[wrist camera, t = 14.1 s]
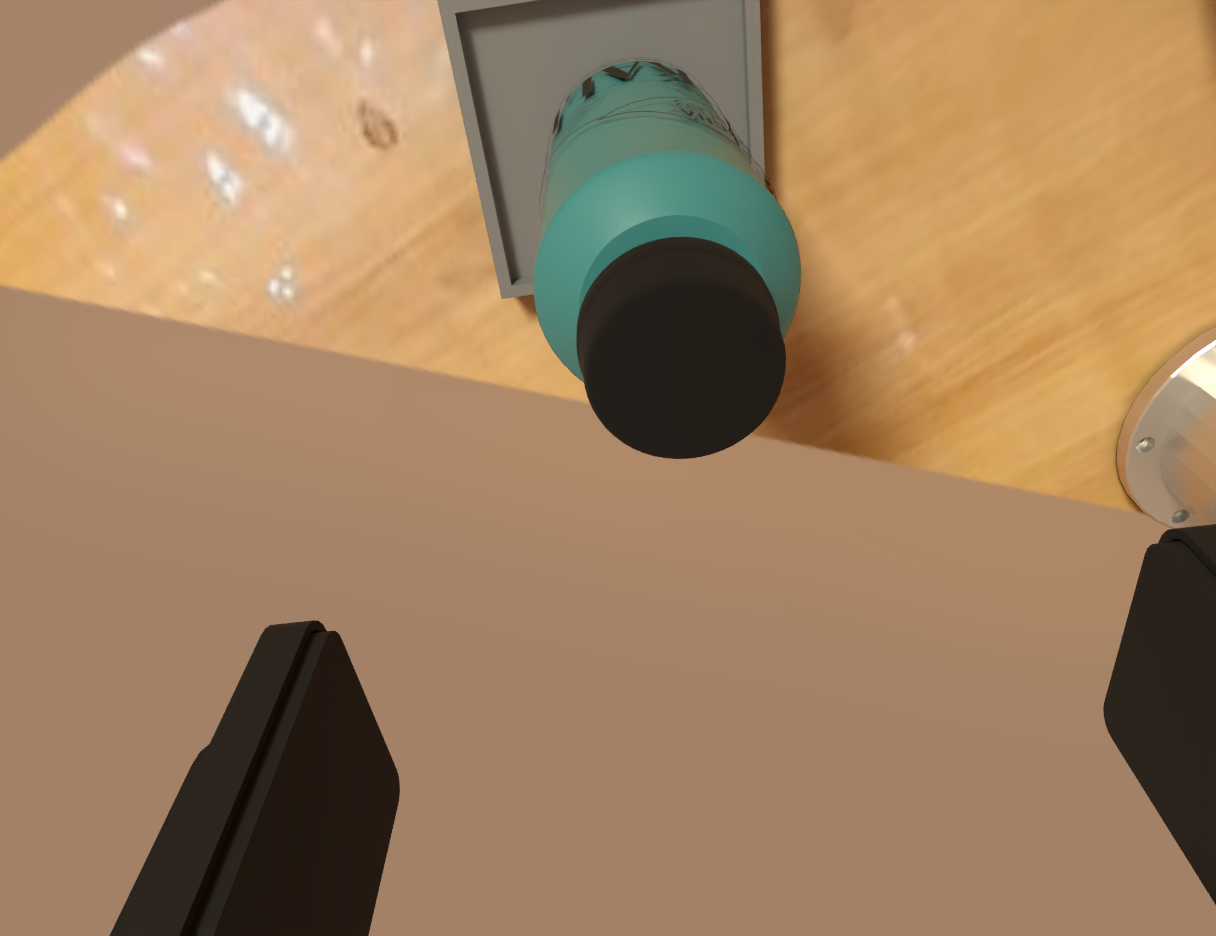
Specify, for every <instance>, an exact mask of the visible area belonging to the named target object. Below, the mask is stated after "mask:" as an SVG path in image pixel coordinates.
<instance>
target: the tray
mask: <svg viewBox="0 0 1216 936" xmlns="http://www.w3.org/2000/svg"><path fill="white" fill-rule="evenodd" d="M437 1H438V5H439V10H440V15H441V19H442V24H443V28H444V33H445V38H446V42H447V47H448V52H449V56H450V61H451V66H452V70H453V75H454V79H455V84H456V89H457V93H458V98H459V103H460V107H461V112H462V117H463V121H464V126H465V130H466V135H467V140H468V144H469V149H470V154H471V158H472V163H473V167H474V172H475V177H476V181H477V186H478V191H479V195H480V200H481V205H482V209H483V214H484V218H485V223H486V228H487V232H488V237H489V242H490V246H491V251H492V256H493V260H494V265H495V269H496V274H497V279H498V283H499V288H500V293H501V297H502V299H505V298H512V297H519V296H527V295H533V272H534V265H535V257H536V254H537V250H538V246H539V243H540V240H541V232H542V224H543V221H542V220H543V215H544V208H543V207H545V206H544V196H545V186H546V180H545V179H547V173H548V171H547V170H548V167H549V165H548V164H549V162H548V161H550V155H551V150H550V149H551V148H552V144H551V143H552V142H553V140H552V139H553V136H554V133H553V127H554V123H553V122H554V121H555V117H556V116H555V115H557V114H558V112H559V110H560V113H561V111H562V109H563V108H564V106H565V104H566V100H567V98H568V96H569V95H570V94H571V93H572V92H573V91H575V90H576V89H577V88H578V87H579V85H580V84H581V83H583V82H584V81H585V80H586V79H588V78H589V77H591V76H592V75H594V74H595V73H597V72H599V71H601V70H603V69H605V68H607V67H609V66H612V65H616V64H619V63H625V62H631V61H648V62H657V63H661V64H662V65H666V66H668V67H671V66H672V67H671V68H673V67H674V68H673V69H675V68H677V67H679V68H677V69H679V70H681V71H683V70H684V71H683V72H684V73H686V75H687V74H688V73H689V74H688V75H687V76H688V78H689V79H690V80H691V81H693V82H694V83H695V84H696V85H697V86H698V88H699V89H700V90H701V91H702V92H703V94H704V95H705V96H706V98H707V99H708V100H709V102H712V103H713V105H714V107H713V108H714V109H715V111H716V112H718V113H717V114H718V116H719V117H720V119H721V120H723V121H724V122H725V123H724V122H723V121H722V122H723V123H724V125H725V126H726V128H727V129H728V130H729V126H727V125H728V124H727V122H726V120H727V119H728V120H727V121H729V123H730V127H731V129H732V130H733V131H734V132H733V133H734V135H735V137H736V138H737V139H738V140H741V141H740V142H742V143H743V144H741V143H740V142H739V141H738V140H737V141H738V143H739V146H740V149H741V148H742V149H743V148H744V149H743V150H744V151H745V152H746V153H747V154H748V155H747V154H745V152H744V151H743V150H742V149H741V150H742V152H743V153H744V155H745V156H746V158H747V159H748V161H749V162H750V164H751V165H752V167H753V168H754V170H755V171H756V173H757V172H758V171H759V172H760V173H759V172H758V173H757V174H758V175H759V177H761V176H762V177H761V180H762V182H763V183H764V186H765V182H764V181H765V178H764V177H765V173H764V172H765V165H764V131H763V97H762V63H761V28H760V0H437ZM632 57H642V58H632ZM644 57H647V58H644ZM625 58H627V59H625ZM654 58H656V59H654ZM619 59H621V60H619ZM634 59H638V60H634ZM639 59H645V60H639ZM646 59H647V60H646ZM649 59H650V60H649ZM659 59H660V60H659ZM616 60H617V61H616ZM624 60H625V61H624ZM626 60H627V61H626ZM653 60H657V61H653ZM663 60H664V61H663ZM613 61H614V62H613ZM619 61H620V62H619ZM621 61H622V62H621ZM659 61H662V62H659ZM609 62H610V63H609ZM616 62H617V63H616ZM669 62H670V63H669ZM613 63H615V64H613ZM609 64H610V65H609ZM611 64H612V65H611ZM674 64H675V65H674ZM602 65H603V66H602ZM606 65H607V66H606ZM600 66H601V67H600ZM675 66H676V67H675ZM598 67H599V68H598ZM603 67H604V68H603ZM680 67H681V68H680ZM596 68H597V69H599V70H598V71H597V69H596ZM600 68H601V69H600ZM593 70H594V71H596V72H594V71H593ZM675 70H676V69H675ZM685 70H686V72H685ZM588 73H589V74H588ZM591 73H592V74H591ZM588 75H589V76H588ZM689 75H690V76H689ZM692 75H693V76H692ZM587 76H588V77H587ZM583 77H584V78H585V77H586V78H585V79H584V78H583ZM693 77H694V78H693ZM583 79H584V80H583ZM698 81H699V82H698ZM577 82H578V83H577ZM579 82H581V83H579ZM576 83H577V84H576ZM701 84H702V85H701ZM699 85H700V86H699ZM575 86H576V87H575ZM703 86H704V87H703ZM574 87H575V88H574ZM702 87H703V88H702ZM573 88H574V89H573ZM701 88H702V89H703V90H706V92H707V93H708V94H709V95H710V96H711V97H712V98H711V97H710V96H709V95H708V94H707V93H705V91H703V90H702V89H701ZM568 92H569V93H570V94H569V93H568ZM568 94H569V95H568ZM572 94H573V93H572ZM572 94H571V95H572ZM567 95H568V96H567ZM571 95H570V97H571ZM565 96H566V97H567V98H566V97H565ZM570 97H569V98H570ZM565 98H566V99H565ZM569 98H568V99H569ZM563 99H565V100H563ZM710 100H711V101H710ZM713 100H714V101H715V102H716V103H717V104H716V103H715V102H714V101H713ZM563 101H564V102H563ZM561 102H563V103H561ZM712 103H711V105H712ZM560 104H562V105H560ZM717 105H718V106H717ZM561 106H562V107H561ZM560 108H561V109H560ZM716 108H718V109H719V108H720V109H719V110H718V109H716ZM558 109H559V110H558ZM720 110H721V111H722V112H721V111H720ZM557 111H558V112H557ZM719 111H720V112H721V113H723V115H725V116H723V115H722V114H721V113H720V112H719ZM560 113H559V116H560ZM721 115H722V117H721ZM724 117H725V118H726V120H725V118H724ZM553 119H554V120H553ZM551 125H552V126H551ZM551 127H552V128H551ZM732 127H733V128H734V129H735V130H734V129H733V128H732ZM551 132H552V133H553V135H552V133H551ZM730 132H731V130H730ZM735 133H736V134H737V135H736V134H735ZM549 137H550V138H549ZM551 137H552V138H551ZM732 137H733V138H734V136H732ZM738 137H739V138H738ZM734 140H735V139H734ZM551 141H552V142H551ZM549 142H550V143H549ZM744 144H745V145H746V146H745V145H744ZM549 146H550V147H549ZM742 146H743V147H742ZM744 146H745V147H747V148H748V149H747V148H745V147H744ZM748 150H749V151H750V152H749V151H748ZM547 151H548V152H547ZM549 151H550V152H549ZM547 153H548V155H547ZM749 153H751V154H749ZM545 155H546V156H545ZM751 155H752V156H751ZM547 156H548V157H547ZM751 157H752V158H751ZM753 158H754V159H753ZM546 159H547V161H546ZM754 160H755V161H754ZM753 162H754V163H753ZM547 163H548V164H547ZM755 163H756V164H757V165H756V164H755ZM758 164H759V165H760V167H761V168H760V167H759V165H758ZM545 165H546V167H545ZM756 169H757V170H756ZM758 169H759V170H758ZM761 169H762V170H763V171H761ZM544 170H545V173H546V175H545V173H543V172H544ZM762 172H763V173H764V174H763V173H762ZM543 176H544V179H543ZM762 178H763V179H764V180H763V179H762ZM542 182H543V185H542ZM540 183H541V184H540ZM541 188H542V191H541ZM539 191H540V192H539ZM540 194H541V197H540ZM539 200H540V203H539ZM539 205H540V207H539ZM540 212H541V213H540ZM541 216H542V218H541Z"/></svg>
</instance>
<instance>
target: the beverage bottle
mask: <svg viewBox="0 0 1216 936" xmlns="http://www.w3.org/2000/svg"><path fill="white" fill-rule="evenodd" d="M632 58H642V57H632ZM644 58H647V57H644ZM625 59H627V58H625ZM654 59H656V58H654ZM619 60H621V59H619ZM634 60H638V59H634ZM639 60H645V59H639ZM646 60H647V59H646ZM649 60H650V59H649ZM659 60H660V59H659ZM616 61H617V60H616ZM624 61H625V60H624ZM626 61H627V60H626ZM653 61H657V60H653ZM663 61H664V60H663ZM613 62H614V61H613ZM619 62H620V61H619ZM621 62H622V61H621ZM659 62H662V61H659ZM609 63H610V62H609ZM616 63H617V62H616ZM669 63H670V62H669ZM613 64H615V63H613ZM609 65H610V64H609ZM611 65H612V64H611ZM674 65H675V64H674ZM602 66H603V65H602ZM606 66H607V65H606ZM600 67H601V66H600ZM671 67H672V66H671ZM671 67H668V66H666V65H662V64H661V63H657V62H648V61H631V62H625V63H619V64H616V65H612V66H609V67H607V68H605V69H603V70H601V71H599V72H597V73H595V74H594V75H592V76H591V77H589V78H588V79H586V80H585V81H584V82H583V83H581V82H579V83H581V84H580V85H579V87H578V88H577V89H576V90H575V91H573V92H572V93H573V94H572V93H571V94H572V95H571V94H570V93H569V92H568V93H569V94H570V95H571V97H570V95H569V94H568V95H569V96H568V95H567V96H568V98H569V97H570V98H569V99H568V98H567V97H566V96H565V97H566V98H567V100H566V104H565V106H564V108H563V109H562V111H561V113H560V110H559V109H558V110H559V112H558V111H557V112H558V114H557V115H555V116H556V117H555V121H554V122H553V123H554V127H553V133H554V136H553V139H552V140H553V142H552V141H551V142H552V143H551V144H552V148H551V149H550V150H551V155H550V161H548V162H549V164H548V163H547V164H548V165H549V167H548V170H547V171H548V173H547V179H545V180H546V186H545V196H544V206H545V207H543V208H544V215H543V220H542V221H543V224H542V232H541V240H540V243H539V246H538V250H537V254H536V257H535V265H534V272H533V295H534V302H535V309H536V313H537V317H538V320H539V324H540V326H541V329H542V331H543V333H544V336H545V338H546V340H547V341H548V343H549V345H550V346H551V348H552V350H553V351H554V353H555V354H556V355H557V357H558V358H559V359H560V360H561V362H562V363H563V364H564V365H565V366H566V367H567V368H568V369H569V370H570V371H571V372H572V373H573V374H574V375H575V376H576V377H577V378H579V379H580V380H581V381H583V382H584V384H585V389H586V393H587V397H588V399H589V402H590V404H591V406H592V408H593V410H594V412H595V413H596V415H597V417H598V418H599V420H600V421H601V422H602V424H603V425H604V426H605V427H606V429H607V430H609V431H610V432H611V433H612V434H613V435H614V436H615V437H616V438H618V439H619V440H620V441H622V442H623V443H625V444H626V445H628V446H630V447H631V448H633V449H636V450H638V451H640V452H643V453H646V454H649V455H652V456H657V457H663V458H672V459H685V458H686V459H688V458H696V457H702V456H706V455H710V454H713V453H716V452H719V451H722V450H724V449H726V448H728V447H730V446H732V445H734V444H736V443H737V442H739V441H741V440H742V439H744V438H745V437H746V436H748V435H749V434H750V433H752V432H753V431H754V430H755V429H756V428H757V427H758V426H759V425H760V424H761V423H762V422H763V421H764V419H765V418H766V417H767V416H768V414H769V413H770V411H771V410H772V408H773V406H774V405H775V403H776V401H777V398H778V396H779V394H780V391H781V388H782V385H783V380H784V375H785V368H786V353H785V345H784V341H783V338H784V337H785V335H786V333H787V331H788V328H789V326H790V324H791V322H792V319H793V316H794V313H795V310H796V306H797V302H798V297H799V292H800V281H801V264H800V255H799V249H798V244H797V240H796V237H795V235H794V232H793V229H792V226H791V224H790V222H789V220H788V218H787V216H786V214H785V212H784V211H783V209H782V208H781V206H780V205H779V203H778V202H777V200H776V199H775V198H774V196H773V193H772V190H771V191H770V192H771V193H770V192H769V191H768V189H767V188H766V187H765V186H764V183H763V182H762V180H761V177H762V176H761V177H759V175H758V174H757V173H758V172H759V171H758V172H757V173H756V171H755V170H754V168H753V167H752V165H751V164H750V162H749V161H748V159H747V158H746V156H745V155H744V153H743V152H742V150H743V149H744V148H743V149H742V148H741V149H742V150H741V149H740V146H739V143H738V141H739V142H740V141H741V140H738V139H737V138H736V137H735V135H734V133H733V132H734V131H733V130H732V129H731V127H730V123H729V121H727V120H728V119H727V120H726V118H725V117H724V118H725V120H726V122H727V124H728V125H727V126H729V130H728V129H727V128H726V126H725V125H724V123H725V122H724V121H723V120H721V119H720V117H719V116H718V114H717V113H718V112H716V111H715V109H714V108H713V107H714V105H713V103H712V102H709V100H708V99H707V98H706V96H705V95H704V94H703V92H702V91H701V90H700V89H699V88H698V86H697V85H696V84H695V83H694V82H693V81H691V80H690V79H689V78H688V76H687V75H688V74H689V73H688V74H687V75H686V73H684V72H683V71H684V70H683V71H681V70H679V69H677V68H679V67H677V68H675V69H676V70H675V69H673V68H674V67H673V68H671ZM675 67H676V66H675ZM598 68H599V67H598ZM603 68H604V67H603ZM680 68H681V67H680ZM596 69H597V68H596ZM600 69H601V68H600ZM598 70H599V69H597V71H598ZM593 71H594V70H593ZM594 72H596V71H594ZM685 72H686V70H685ZM588 74H589V73H588ZM591 74H592V73H591ZM588 76H589V75H588ZM588 76H587V77H588ZM689 76H690V75H689ZM692 76H693V75H692ZM583 78H584V77H583ZM585 78H586V77H585ZM585 78H584V79H585ZM693 78H694V77H693ZM584 79H583V80H584ZM698 82H699V81H698ZM577 83H578V82H577ZM577 83H576V84H577ZM701 85H702V84H701ZM699 86H700V85H699ZM575 87H576V86H575ZM575 87H574V88H575ZM703 87H704V86H703ZM703 87H702V88H703ZM574 88H573V89H574ZM702 88H701V89H702ZM702 90H703V89H702ZM703 91H705V93H707V92H706V90H703ZM707 94H708V93H707ZM708 95H709V94H708ZM709 96H710V95H709ZM710 97H711V96H710ZM566 98H565V99H566ZM711 98H712V97H711ZM565 99H563V100H565ZM710 101H711V100H710ZM713 101H714V100H713ZM563 102H564V101H563ZM563 102H561V103H563ZM714 102H715V101H714ZM711 103H712V105H711ZM715 103H716V102H715ZM716 104H717V103H716ZM560 105H562V104H560ZM717 106H718V105H717ZM561 107H562V106H561ZM560 109H561V108H560ZM716 109H718V108H716ZM719 109H720V108H719ZM719 109H718V110H719ZM720 111H721V110H720ZM720 111H719V112H720ZM721 112H722V111H721ZM721 112H720V113H721ZM559 113H560V116H559ZM721 114H722V115H723V113H721ZM722 115H721V117H722ZM723 116H725V115H723ZM553 120H554V119H553ZM722 121H723V122H724V123H723V122H722ZM551 126H552V125H551ZM551 128H552V127H551ZM732 128H733V127H732ZM733 129H734V128H733ZM730 130H731V132H730ZM734 130H735V129H734ZM551 133H552V132H551ZM553 133H552V135H553ZM735 134H736V133H735ZM736 135H737V134H736ZM732 136H734V138H733V137H732ZM549 138H550V137H549ZM551 138H552V137H551ZM738 138H739V137H738ZM734 139H735V140H734ZM737 140H738V141H737ZM549 143H550V142H549ZM740 143H741V144H743V143H742V142H740ZM744 145H745V144H744ZM745 146H746V145H745ZM745 146H744V147H745ZM549 147H550V146H549ZM742 147H743V146H742ZM745 148H747V147H745ZM747 149H748V148H747ZM743 151H744V150H743ZM748 151H749V150H748ZM547 152H548V151H547ZM549 152H550V151H549ZM744 152H745V151H744ZM749 152H750V151H749ZM745 154H747V153H746V152H745ZM749 154H751V153H749ZM547 155H548V153H547ZM747 155H748V154H747ZM545 156H546V155H545ZM751 156H752V155H751ZM547 157H548V156H547ZM751 158H752V157H751ZM753 159H754V158H753ZM546 161H547V159H546ZM754 161H755V160H754ZM753 163H754V162H753ZM755 164H756V163H755ZM756 165H757V164H756ZM758 165H759V164H758ZM545 167H546V165H545ZM759 167H760V165H759ZM760 168H761V167H760ZM756 170H757V169H756ZM758 170H759V169H758ZM761 171H763V170H762V169H761ZM543 173H545V170H544V172H543ZM759 173H760V172H759ZM762 173H763V172H762ZM764 173H765V172H764ZM764 173H763V174H764ZM545 175H546V173H545ZM765 177H766V176H765ZM765 177H764V178H765ZM543 179H544V176H543ZM762 179H763V178H762ZM768 179H769V178H768ZM763 180H764V179H763ZM765 180H766V179H765ZM769 181H770V180H769ZM764 182H765V181H764ZM766 182H767V180H766ZM766 182H765V183H766ZM767 183H768V185H769V182H767ZM767 183H766V184H767ZM540 184H541V183H540ZM542 185H543V182H542ZM768 185H766V186H768ZM769 186H770V185H769ZM768 188H769V187H768ZM769 190H770V189H769ZM773 190H774V189H773ZM541 191H542V188H541ZM539 192H540V191H539ZM774 194H775V193H774ZM540 197H541V194H540ZM775 197H776V196H775ZM539 203H540V200H539ZM539 207H540V205H539ZM540 213H541V212H540ZM541 218H542V216H541Z"/></svg>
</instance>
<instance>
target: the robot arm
mask: <svg viewBox="0 0 1216 936" xmlns="http://www.w3.org/2000/svg"><path fill="white" fill-rule="evenodd" d="M1117 467H1118V472H1119V477H1120V481H1121V482H1122V484H1123V486H1124V488H1125V490H1126V492H1127V494H1128V495H1129V496H1130V497H1131V498H1132V500H1133V501H1134V502H1135V503H1136V504H1137V505H1138V506H1139V508H1140V509H1141V510H1142V511H1144V512H1145V513H1146V514H1147V515H1149V516H1150V517H1151V518H1153V519H1154V520H1155V521H1157V522H1159V523H1161V524H1163V525H1166V526H1168V527H1170V528H1173V529H1170V530H1167V531H1166V532H1165V533H1164V534H1163V535H1162V536H1161V538H1160V540H1159V543H1158V544H1152V545H1150V546H1149V547H1148V548H1147V551H1146V553H1145V556H1144V560H1143V564H1142V567H1141V571H1140V574H1139V578H1138V582H1137V585H1136V589H1135V592H1134V596H1133V600H1132V604H1131V607H1130V611H1129V615H1128V618H1127V622H1126V626H1125V629H1124V633H1123V636H1122V640H1121V644H1120V648H1119V651H1118V654H1117V658H1116V662H1115V666H1114V669H1113V673H1112V677H1111V680H1110V684H1109V687H1108V691H1107V695H1106V698H1105V702H1104V708H1103V709H1104V718H1105V723H1106V726H1107V729H1108V731H1109V733H1110V736H1111V737H1112V739H1113V741H1114V743H1115V744H1116V746H1117V747H1118V749H1119V751H1120V752H1121V754H1122V755H1123V757H1124V759H1125V760H1126V762H1127V763H1128V765H1129V767H1130V768H1131V770H1132V771H1133V773H1134V775H1135V776H1136V778H1137V779H1138V781H1139V783H1140V784H1141V786H1142V787H1143V789H1144V791H1145V792H1146V794H1147V795H1148V797H1149V799H1150V800H1151V802H1152V803H1153V805H1154V806H1155V808H1156V810H1157V811H1158V813H1159V815H1160V816H1161V818H1162V819H1163V821H1164V823H1165V824H1166V826H1167V827H1168V829H1169V831H1170V832H1171V834H1172V836H1173V837H1174V839H1175V840H1176V842H1177V843H1178V845H1179V847H1180V848H1181V850H1182V851H1183V853H1184V855H1185V856H1186V858H1187V859H1188V861H1189V863H1190V864H1191V865H1192V867H1193V869H1194V871H1195V872H1196V874H1197V875H1198V877H1199V879H1200V880H1201V882H1202V884H1203V885H1204V887H1205V888H1206V890H1207V892H1208V893H1209V895H1210V896H1211V898H1212V900H1213V901H1214V903H1215V904H1216V327H1214V328H1212V329H1211V330H1209V331H1208V332H1206V333H1204V334H1203V335H1201V336H1199V337H1198V338H1196V339H1194V340H1193V341H1192V342H1191V343H1189V344H1188V345H1187V346H1185V347H1184V348H1183V349H1182V350H1180V351H1179V352H1178V353H1177V354H1175V355H1174V356H1173V357H1172V358H1170V359H1169V360H1168V361H1167V362H1166V363H1165V365H1164V366H1163V367H1162V368H1161V369H1160V370H1159V371H1158V372H1157V373H1156V374H1155V375H1154V376H1153V377H1152V378H1151V379H1150V380H1149V382H1148V383H1147V384H1146V386H1145V387H1144V389H1143V390H1142V391H1141V393H1140V394H1139V395H1138V397H1137V398H1136V399H1135V401H1134V403H1133V405H1132V407H1131V409H1130V411H1129V413H1128V415H1127V417H1126V419H1125V421H1124V423H1123V427H1122V430H1121V433H1120V437H1119V440H1118V447H1117ZM399 793H400V786H399V776H398V773H397V769H396V767H395V765H394V762H393V760H392V757H391V755H390V753H389V750H388V748H387V746H386V743H385V741H384V738H383V736H382V734H381V731H380V729H379V727H378V724H377V722H376V720H375V717H374V715H373V712H372V710H371V708H370V705H369V703H368V701H367V698H366V696H365V693H364V691H363V689H362V686H361V684H360V681H359V679H358V677H357V674H356V672H355V670H354V668H353V665H352V663H351V660H350V658H349V656H348V653H347V651H346V648H345V646H344V644H343V641H342V639H341V637H340V635H339V634H338V633H337V632H336V631H326V629H325V627H324V626H323V624H322V623H320V622H319V621H305V622H296V623H287V624H277V625H270V626H269V627H267V628H265V630H264V632H263V633H262V635H261V636H260V639H259V641H258V643H257V645H256V647H255V649H254V652H253V654H252V656H251V658H250V660H249V662H248V664H247V666H246V668H245V670H244V672H243V675H242V677H241V679H240V681H239V683H238V685H237V687H236V690H235V692H234V694H233V696H232V698H231V700H230V702H229V704H228V706H227V708H226V711H225V713H224V715H223V717H222V719H221V721H220V723H219V726H218V728H217V730H216V732H215V734H214V736H213V738H212V740H211V742H210V744H209V745H208V746H207V747H205V748H204V749H203V750H202V751H201V752H200V753H199V754H198V756H197V758H196V759H195V761H194V762H193V764H192V766H191V768H190V770H189V772H188V774H187V776H186V778H185V780H184V782H183V784H182V787H181V789H180V791H179V793H178V795H177V797H176V799H175V801H174V803H173V805H172V807H171V809H170V811H169V813H168V816H167V818H166V820H165V822H164V824H163V826H162V828H161V830H160V832H159V834H158V836H157V838H156V841H155V843H154V845H153V847H152V849H151V851H150V853H149V855H148V857H147V859H146V861H145V863H144V866H143V868H142V870H141V872H140V874H139V876H138V878H137V880H136V882H135V884H134V886H133V888H132V890H131V892H130V894H129V897H128V899H127V901H126V903H125V905H124V907H123V909H122V911H121V913H120V915H119V917H118V919H117V921H116V924H115V926H114V928H113V930H112V932H111V934H110V936H368V934H369V930H370V925H371V921H372V917H373V913H374V908H375V904H376V899H377V895H378V891H379V886H380V882H381V877H382V873H383V869H384V864H385V860H386V855H387V851H388V847H389V842H390V837H391V833H392V829H393V824H394V820H395V815H396V811H397V807H398V801H399Z"/></svg>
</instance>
